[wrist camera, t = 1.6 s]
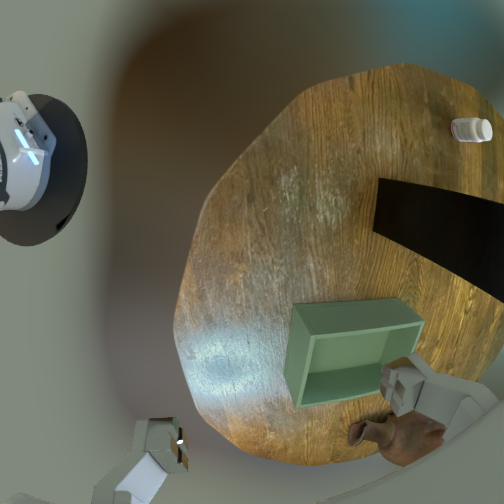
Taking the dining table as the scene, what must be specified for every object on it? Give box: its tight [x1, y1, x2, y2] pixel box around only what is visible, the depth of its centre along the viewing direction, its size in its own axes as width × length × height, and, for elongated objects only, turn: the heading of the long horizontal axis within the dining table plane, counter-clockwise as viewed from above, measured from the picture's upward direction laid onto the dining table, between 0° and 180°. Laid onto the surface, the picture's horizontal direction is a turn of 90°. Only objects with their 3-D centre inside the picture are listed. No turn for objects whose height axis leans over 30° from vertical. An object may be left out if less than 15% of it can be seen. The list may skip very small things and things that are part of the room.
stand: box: [373, 178, 504, 303], centre depth 27 cm, size 9×9×36 cm
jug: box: [348, 410, 447, 467], centre depth 55 cm, size 20×20×30 cm
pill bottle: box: [451, 118, 492, 142], centre depth 37 cm, size 5×5×8 cm
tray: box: [283, 297, 425, 408], centre depth 46 cm, size 22×16×10 cm
